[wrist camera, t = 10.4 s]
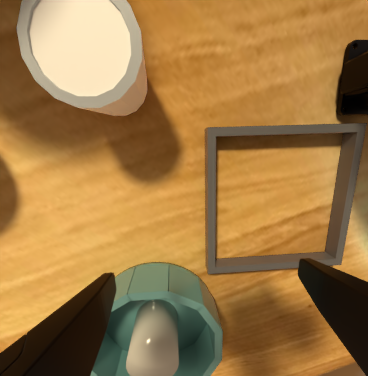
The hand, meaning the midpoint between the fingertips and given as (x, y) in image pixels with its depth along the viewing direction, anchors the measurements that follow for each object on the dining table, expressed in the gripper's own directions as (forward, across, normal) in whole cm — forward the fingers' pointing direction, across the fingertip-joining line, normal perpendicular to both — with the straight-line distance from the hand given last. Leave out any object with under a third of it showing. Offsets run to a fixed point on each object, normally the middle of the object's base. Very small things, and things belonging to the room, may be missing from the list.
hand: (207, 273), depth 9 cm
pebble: (+11, +5, +14) cm, 18 cm away
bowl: (+11, +5, +14) cm, 19 cm away
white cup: (+12, +6, -12) cm, 18 cm away
